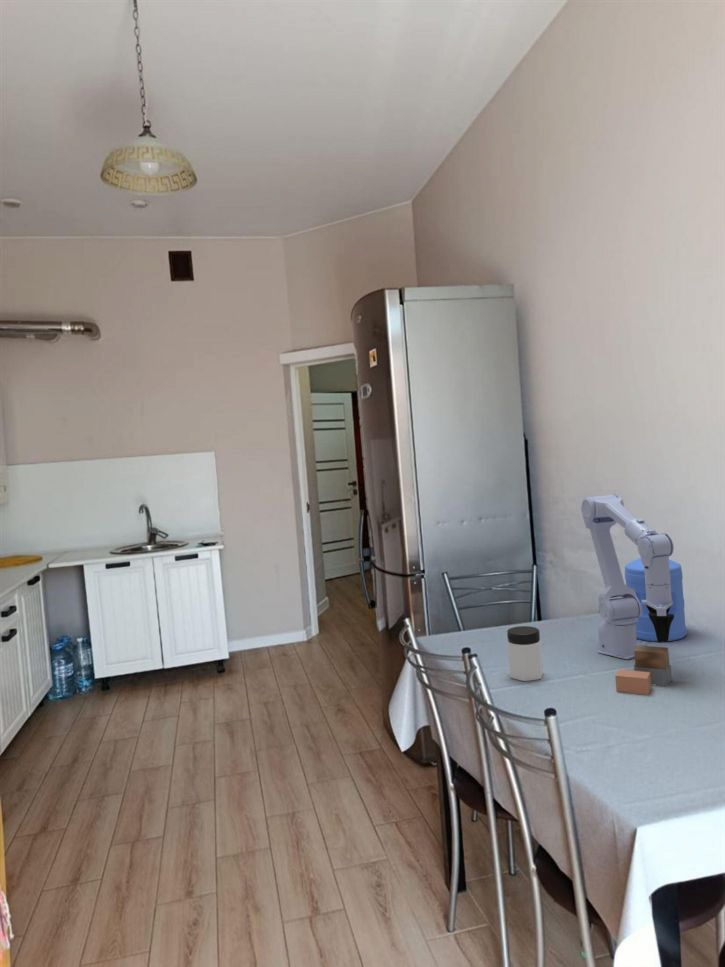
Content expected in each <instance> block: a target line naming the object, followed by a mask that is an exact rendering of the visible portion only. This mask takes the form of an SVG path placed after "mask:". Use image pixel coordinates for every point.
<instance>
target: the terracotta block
mask: <svg viewBox="0 0 725 967" xmlns="http://www.w3.org/2000/svg"><path fill="white" fill-rule="evenodd" d="M615 690H616V691H622V692H621V693H625V692H629V693H628V694H635V693H637V694H636V695H644V694H645V695H646V696H649V695H648V694H650V692H651V690H652V684H651V676H650V672H641V671H634V670H628V669H618V671H617V672H616V674H615ZM645 695H644V696H645Z"/></svg>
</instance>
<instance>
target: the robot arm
mask: <svg viewBox="0 0 725 967" xmlns="http://www.w3.org/2000/svg"><path fill="white" fill-rule="evenodd" d="M580 509H581V510H580V511H581V514H582V519H583V522H584V525H585V528H586V529H588V530H589V532H590V536H591V539H592V544H593V546H594V551H595V553H596V554H595V555H596V558H597V562H598V565H599V569H600V573H601V576H602V580H603V583H604V589H603V590H602V591H601V593H600V594H599V595H598V597H597V598H598V606H599V607H598V610H599V614H600V616H601V618H602V621H600V623H599V626H598V640H599V642H598V643H599V644H598V645H599V650H598V651H597V652H598V654H602V655H605V656H606V655H607V656H612V657H615V658H620V659H623V660H624V659H625V660H629V659H630V660H631V659H633V658H635V655H634V650H635V649H636V647H637V645H638V638H637V636H636V622H638V618H639V617H640V616H641V613H642V606H641V603H640V601H639V600H638V598H637V596H636V593H635V591H634V590H633V589H631V588H630V587H628V586H626V583H625V581H624V577H623V574H622V571H621V570H622V569H621V566H620V563H619V559H618V557H617V556H618V555H617V552H616V549H615V545H614V542H613V538H612V535H611V528H612V527H613V526H615V525H616V524H617V523H618V524H619V525H620V526H621V527H622V528H624V534H625V536H626V537H627V538H628V539H629V540H630V541H631V542H632V543H634V544H635V546H637V551H638V554H639V556H640V558H641V563H642V565H644V571H645V586H646V600H641V601H642V604H646V606H647V608H648V610H649V612H650V613H648V615H649V618H650V619H651V621H652V623H653V625H654V628H655V632H656V637H657V640H658V641H657V643H668V642H669V641H668V638H669V630H670V626H671V623H672V621H673V619H674V614H668V612H669V610H670V608H671V605H672V604H673V601H672V597H671V582H670V567H669V560H670V557H671V556H672V555H673V553H674V550H675V548H674V547H675V546H674V541H673V539H672V537H671V536H670V535H669V534H668V533H667V532H662V533H661V532H657V531H656V530H655V529H654V528H653V527H652V526H650V525H649V524H648V523H647V522H646V521H645V519H644V518H640V517H637V518H635V517H634V516H633V515H632V514H631V512H629V511H628V509H627V508H625V505H624V499H623V498H621V496H619V494H616V493H613V494H608V495H607V494H606V495H598V496H586V497H584V498H583V500H582V502H581V507H580Z"/></svg>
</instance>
